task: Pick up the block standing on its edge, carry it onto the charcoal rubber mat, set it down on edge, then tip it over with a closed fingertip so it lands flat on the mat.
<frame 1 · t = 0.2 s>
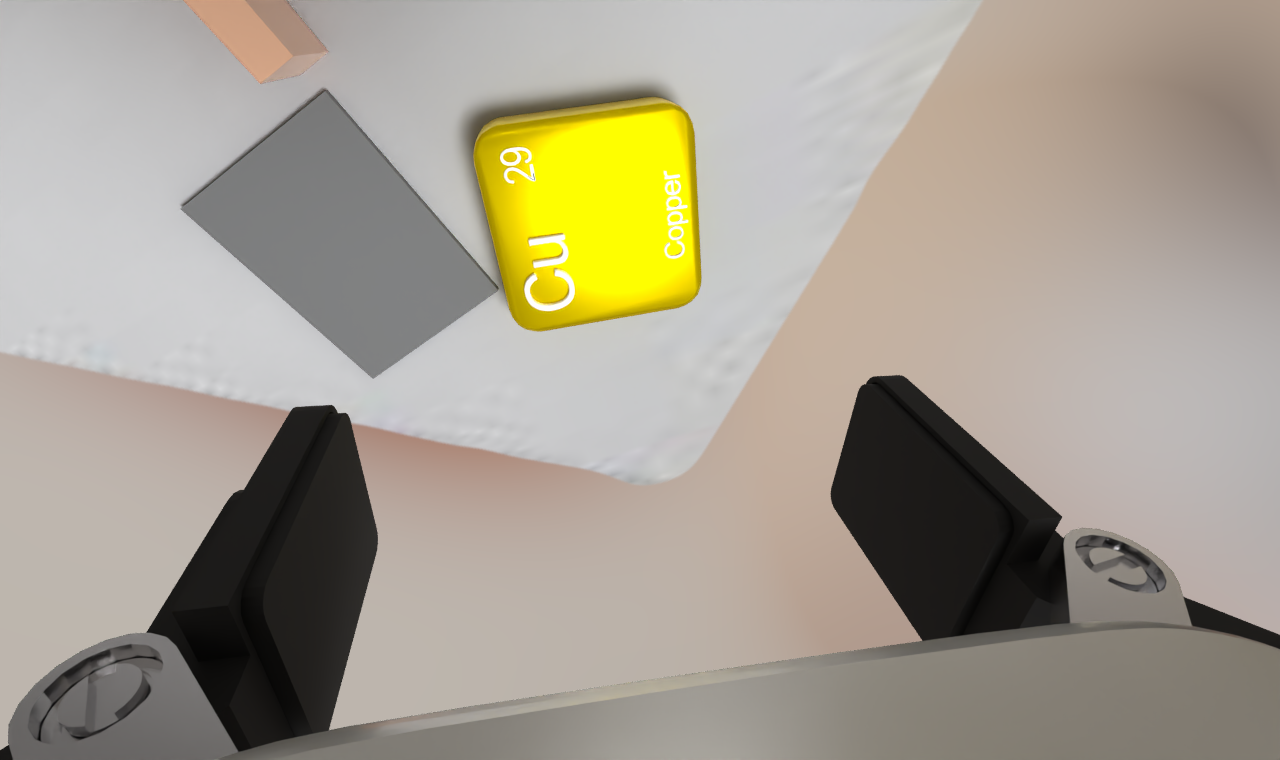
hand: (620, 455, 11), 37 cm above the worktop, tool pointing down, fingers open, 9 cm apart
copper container: (591, 210, 46), on the worktop
mat: (353, 250, 43), on the worktop
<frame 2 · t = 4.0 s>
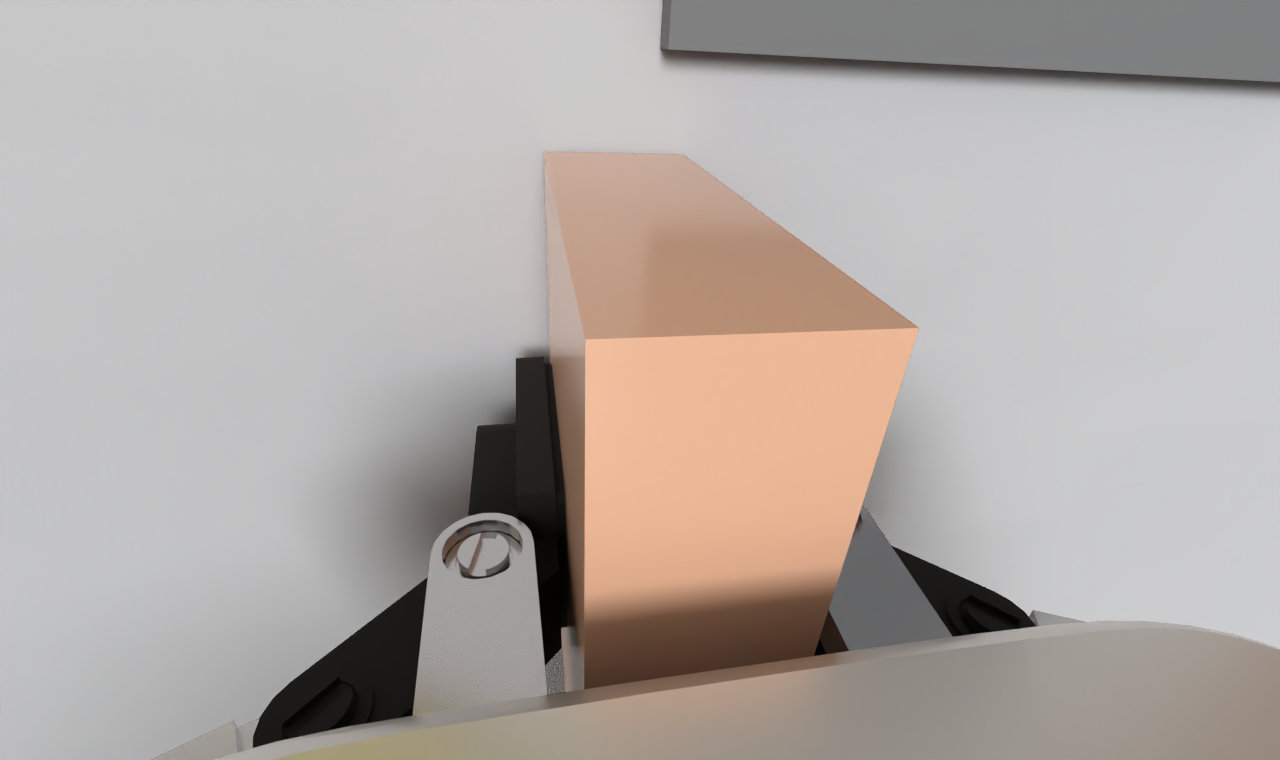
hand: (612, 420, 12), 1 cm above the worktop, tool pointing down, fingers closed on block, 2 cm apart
block: (608, 401, 12), on the worktop, touching gripper
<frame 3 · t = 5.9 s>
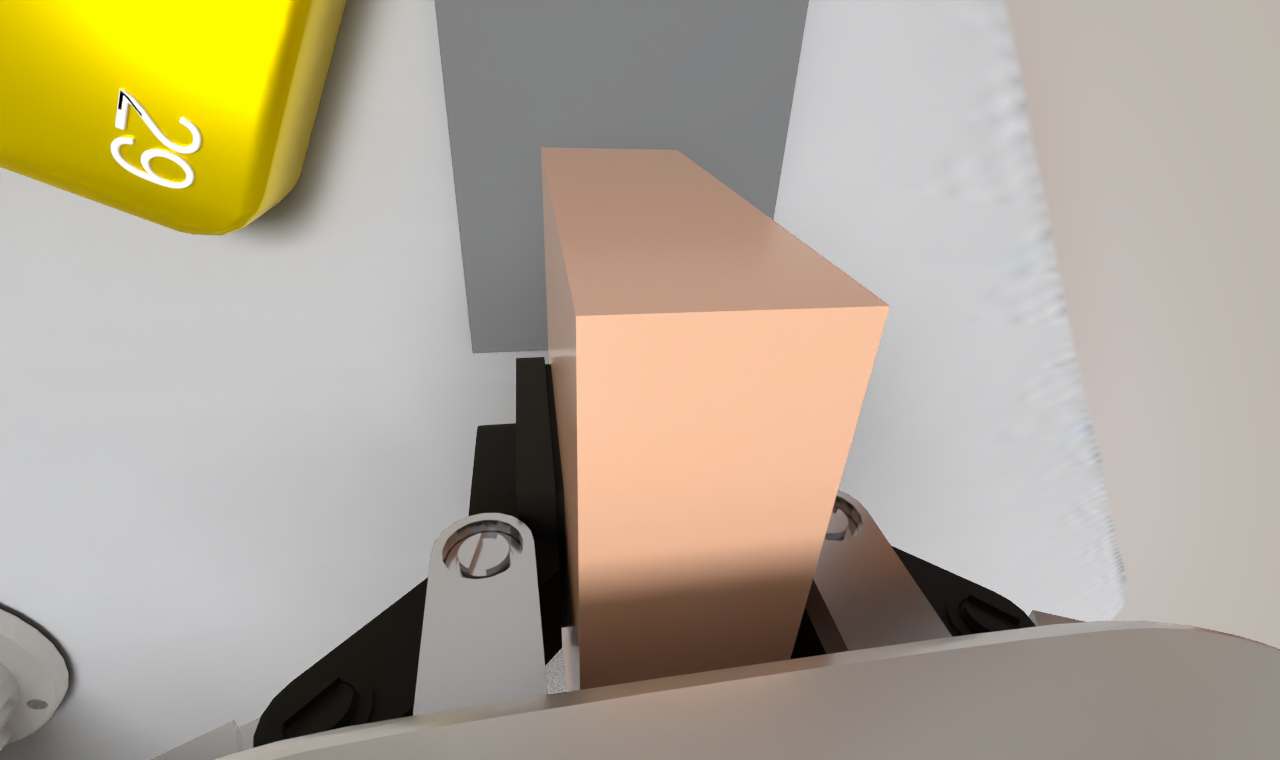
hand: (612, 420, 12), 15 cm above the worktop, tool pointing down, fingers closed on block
block: (605, 392, 13), point 13 cm above the worktop, touching gripper
mat: (623, 148, 23), on the worktop
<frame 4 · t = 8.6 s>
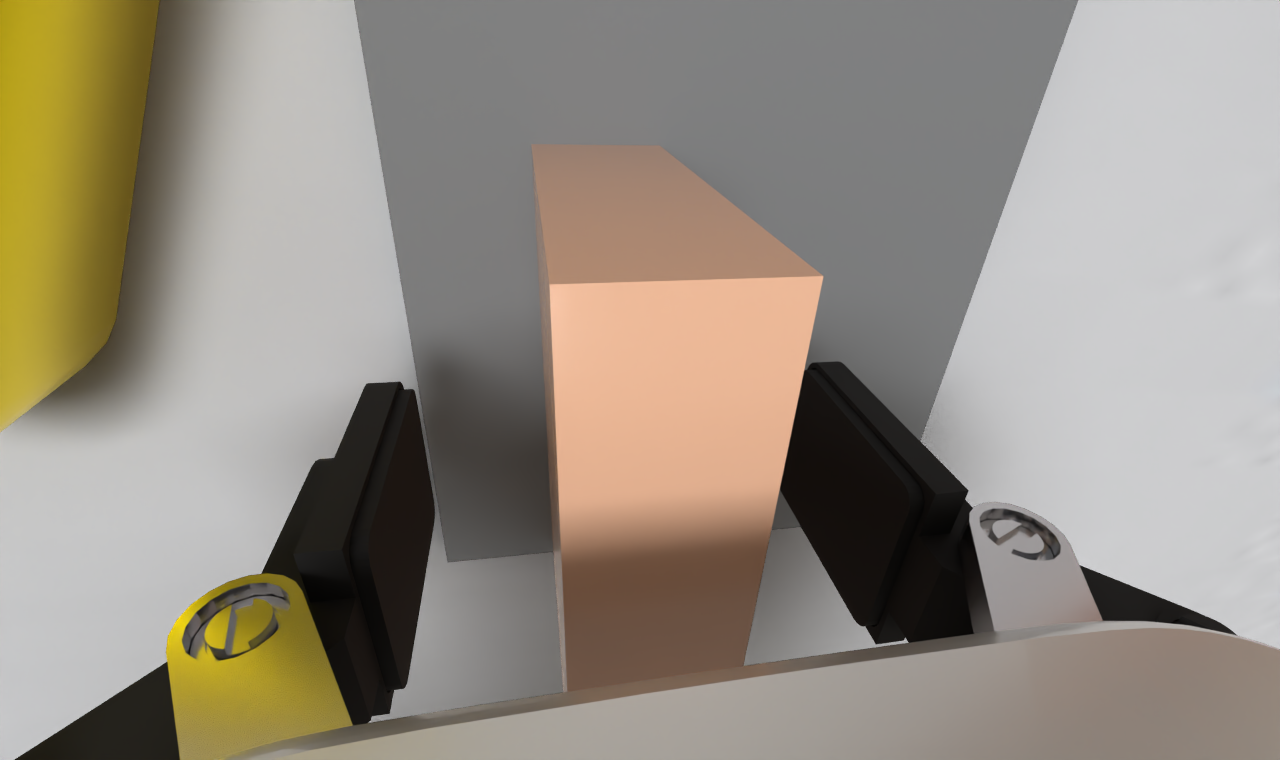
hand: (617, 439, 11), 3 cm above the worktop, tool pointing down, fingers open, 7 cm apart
block: (596, 377, 13), point 1 cm above the worktop, touching mat
mat: (713, 237, 13), on the worktop
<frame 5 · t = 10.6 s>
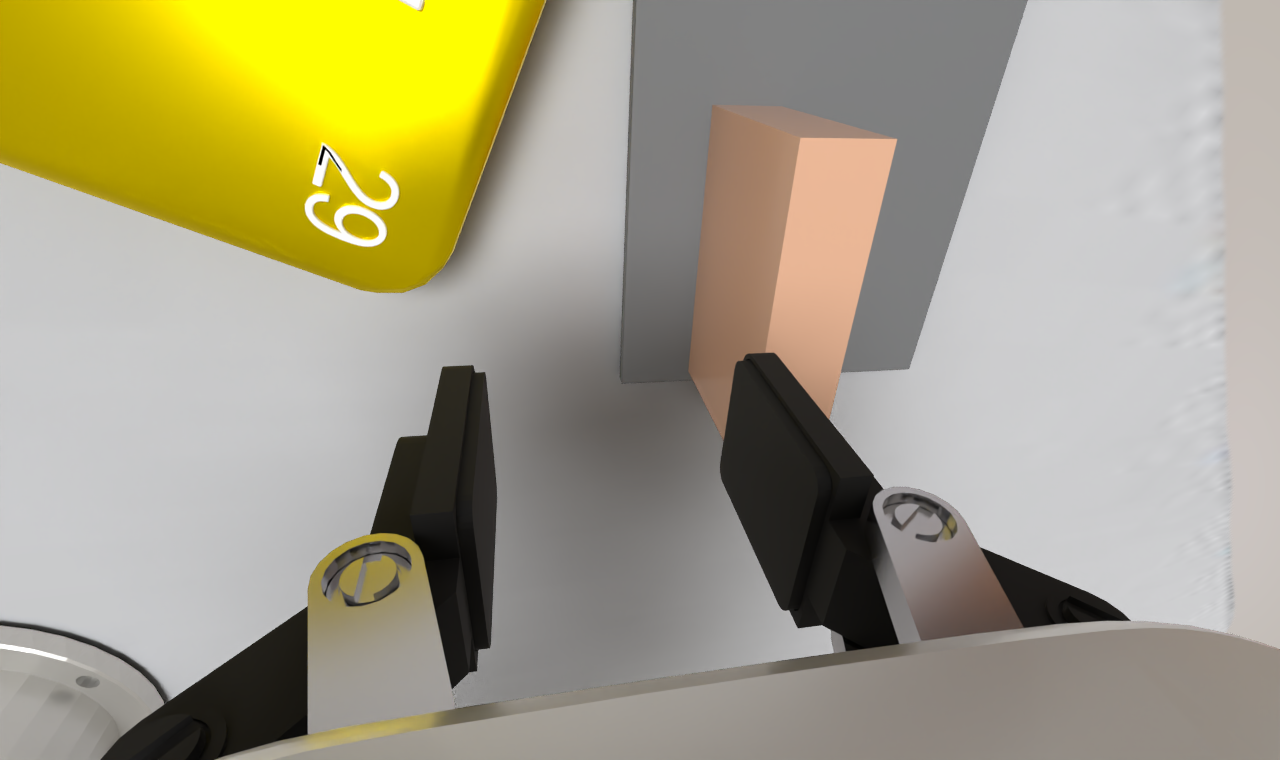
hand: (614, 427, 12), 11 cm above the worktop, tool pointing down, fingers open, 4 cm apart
block: (730, 252, 22), point 1 cm above the worktop, touching mat
mat: (803, 165, 21), on the worktop
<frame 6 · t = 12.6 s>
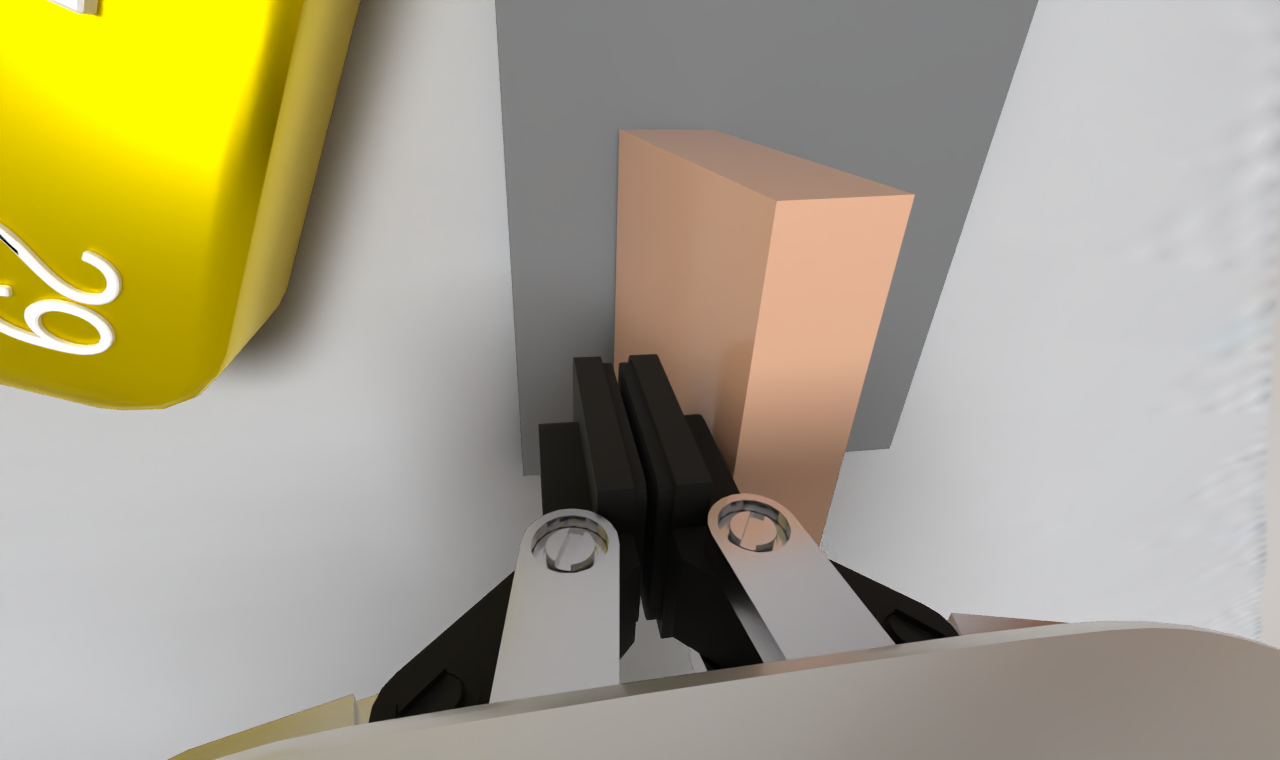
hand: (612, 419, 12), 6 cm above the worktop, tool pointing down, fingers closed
block: (655, 319, 17), point 1 cm above the worktop, tilted 9°, touching mat
mat: (747, 204, 16), on the worktop
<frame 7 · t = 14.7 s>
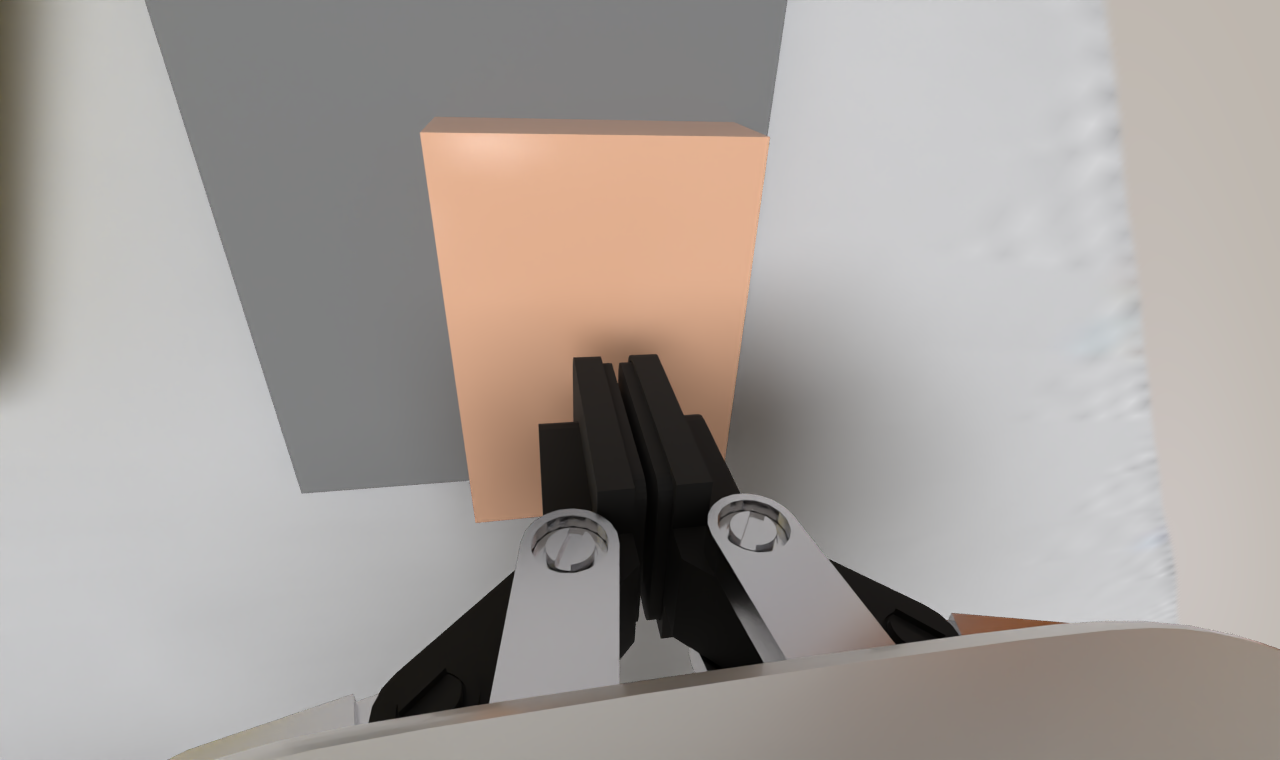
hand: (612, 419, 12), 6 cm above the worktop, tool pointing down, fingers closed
block: (457, 340, 15), point 2 cm above the worktop, tilted 90°, touching mat
mat: (505, 200, 15), on the worktop
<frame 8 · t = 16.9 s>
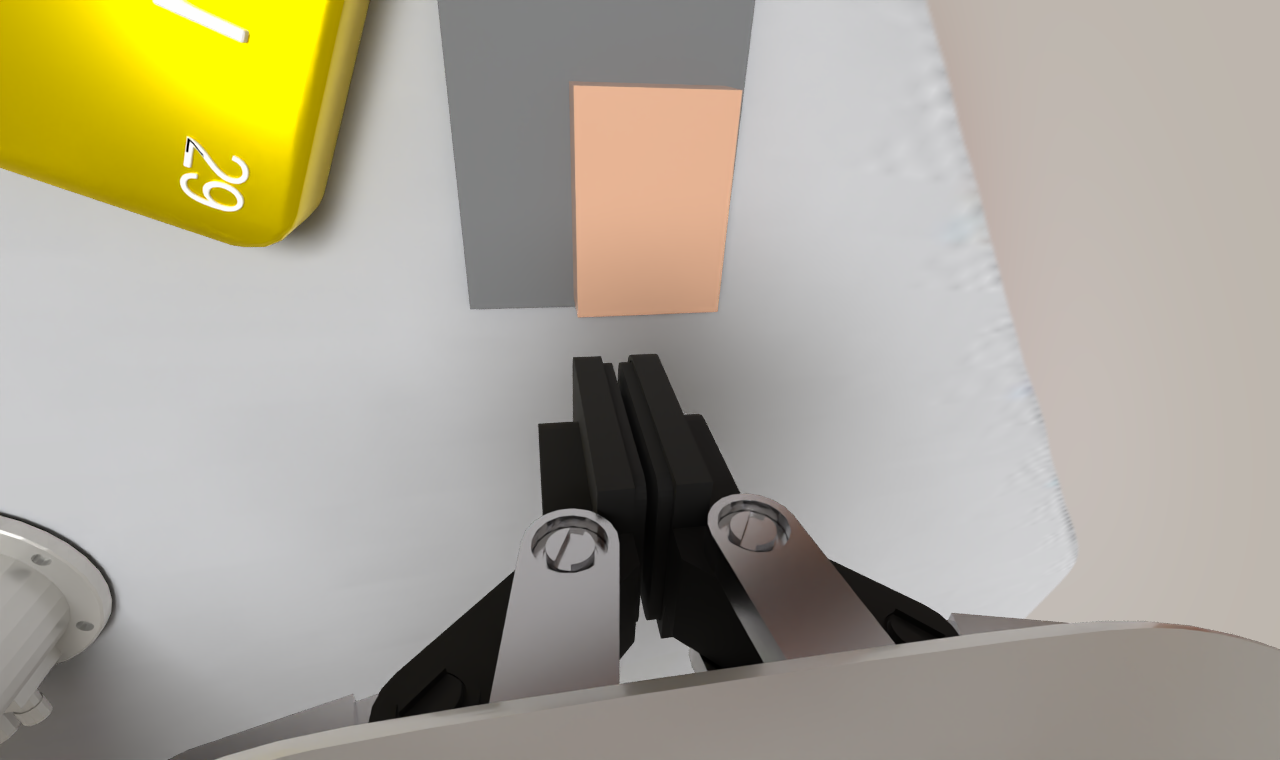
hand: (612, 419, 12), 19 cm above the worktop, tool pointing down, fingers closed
block: (573, 206, 27), point 2 cm above the worktop, tilted 90°, touching mat
mat: (599, 129, 27), on the worktop
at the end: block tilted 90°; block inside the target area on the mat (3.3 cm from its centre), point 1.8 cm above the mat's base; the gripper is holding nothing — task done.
